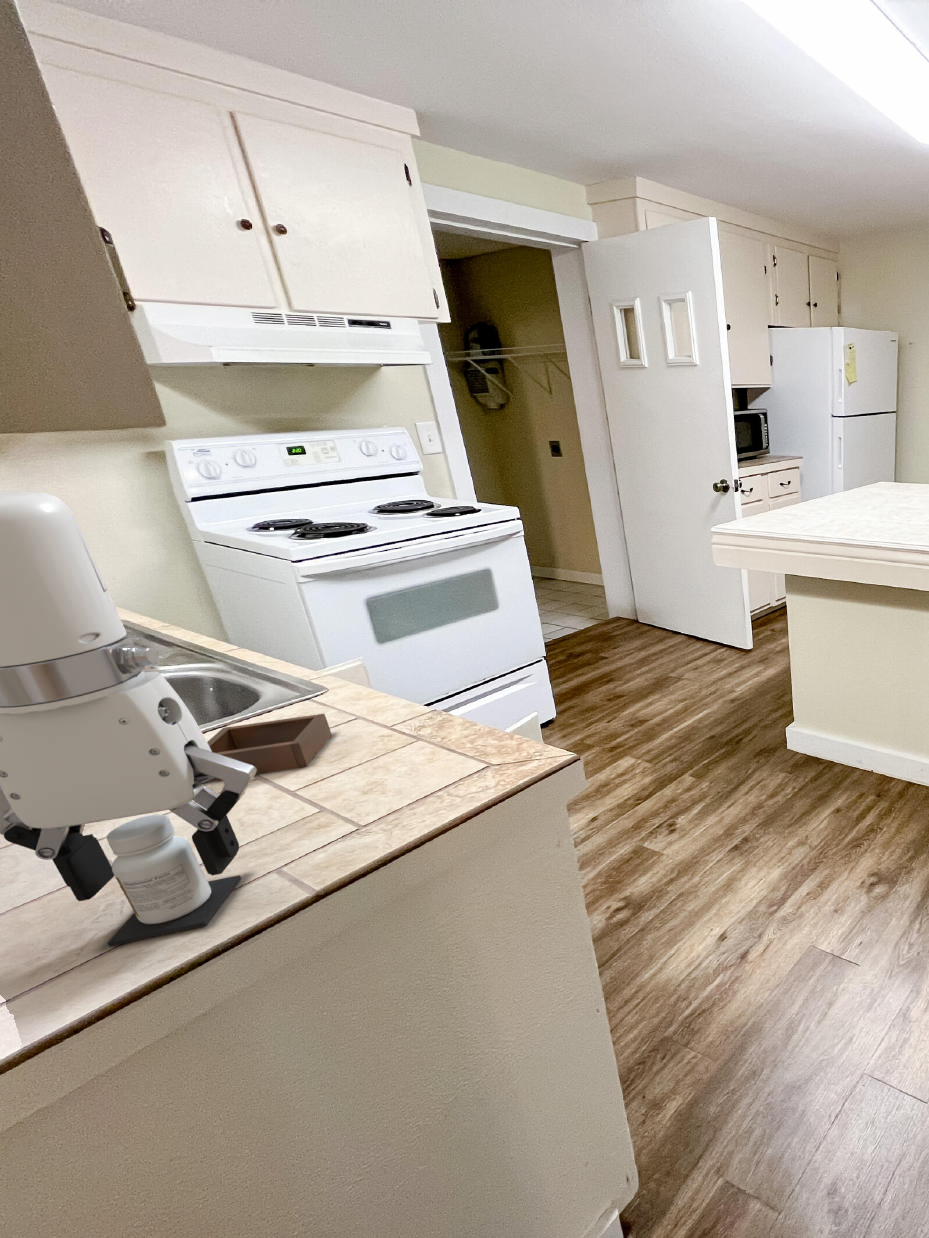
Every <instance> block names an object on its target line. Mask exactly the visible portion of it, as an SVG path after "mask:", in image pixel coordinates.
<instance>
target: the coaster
mask: <svg viewBox="0 0 929 1238" xmlns="http://www.w3.org/2000/svg"><path fill="white" fill-rule="evenodd" d="M207 881H208V883H209V886H210V888H211V894H210V896H209V898H208V899H207V900H206V901H205V902H204V903H203V904H202V905H201V906H200V907H198V908H197V909H195V910H194V911H192V912H190V913H188V914H186V915H184V916H181V917H179V918H176V919H173V920H170V921H167V922H163V923H158V924H145V923H142V922H140V921H139V920H138V918H137V916H136V915H135V913H134V912H133V913H132V915H131V916H130V917H129V918H128V919H127V920H126V921H125V922H124V923H123V924H122V926H121V927H120V928H119V929H118V930H117V931H116V932H115V933H114V934H113V936H112V937H110V939H109V940H108V941H107V943H106V944H107V945H108V947H115V946H119V945H123V944H127V943H133V942H137V941H142V940H146V939H151V938H156V937H160V936H165V935H170V934H171V935H172V934H175V933H180V932H185V931H189V930H194V929H199V928H202V927H206V926H208V924H209V923H210V921H211V920H212V919H213V918H214V916H215V915H216V913H218V911H219V910H220V908H221V907H222V905H224V904H225V902H226V900H227V899H228V898H229V896H230V895H231V894H232V892H233V891H234V889H235V888H236V887H237V886H238V884H239V883H240V881H242V876H241V875H239V874H238V875H233V876H229V877H228V876H227V877H223V878H219V879H213V880H207Z"/></svg>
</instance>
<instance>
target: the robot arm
mask: <svg viewBox="0 0 929 1238" xmlns="http://www.w3.org/2000/svg"><path fill="white" fill-rule="evenodd" d="M159 660H160V654H159V652H158V650H157V649H156V648H155V647H153V646H148V647H146V646H145V647H141V646H136V644H135V642H134V640H133V637H132V636H129V635H128V634H127V631H126V628H125V626H124V623H123V622H122V619H121V617H120V615H119V612H118V609H117V608H116V606H115V603H114V601H113V598H112V596H111V595H110V593H109V590H108V588H107V585H106V583H105V581H104V579H103V577H102V574H101V572H100V570H99V567H98V566H97V563H96V561H95V558H94V556H93V554H92V552H91V550H90V547H89V545H88V543H87V541H86V538H85V536H84V534H83V532H82V529H81V527H80V525H79V522H78V520H77V518H76V517H75V514H74V513H73V511H72V510H71V508H70V507H69V505H68V504H66V503H65V502H64V500H62V499H60V498H59V497H57V496H56V495H53V494H50V493H48V492H40V491H35V490H34V491H32V490H2V491H1V490H0V835H2V836H3V838H4V840H6V841H7V842H8V843H12V844H14V845H17V846H20V847H23V848H26V849H29V850H32V851H34V854H35V856H36V857H37V858H39V859H41V860H44V861H50V860H52V862H53V865H54V866H55V867H56V869H57V871H58V873H59V874H60V876H61V878H62V880H63V881H64V883H65V885H66V886H67V887H68V888H70V890H71V892H72V893H73V896H74V898H75V899H76V900H77V902H84V901H88V900H91V899H92V898H94V897H95V896H96V895H97V894H98V893H99V892H100V891H101V890H102V889H103V888H104V887H105V886H106V885H107V884H108V883H109V882H110V881H112V879H113V878H115V876H114V873H113V871H112V864H111V863H110V861H109V858H107V855H106V853H105V851H104V849H103V848H102V845H101V844H100V842H99V840H98V838H97V837H95V836H94V834H93V833H91V834H85V835H84V833H83V832H84V829H85V826H86V825H88V824H93V823H100V822H106V821H113V820H117V819H118V820H119V819H124V818H129V817H136V816H141V815H147V814H153V813H159V812H165V811H170V812H171V813H173V814H174V815H176V816H178V818H181V819H182V820H183V821H185V822H187V823H188V824H190V825H191V826H192V827H194V828H196V831H195V832H194V833H192V835H191V840H192V843H193V844H194V847H195V849H196V851H197V854H198V855H199V857H200V860H201V862H202V864H203V866H204V869H205V871H206V873H207V874H208V875H210V876H217V875H218V876H219V875H221V874H223V873H224V871H225V870H226V869H227V867H229V865H230V864H231V863H232V861H233V860H234V859H235V857H236V856H237V855H238V852H239V850H240V843H239V840H238V838H237V836H236V834H235V831H234V829H233V827H232V824H231V822H230V819H229V817H228V814H229V813H230V812H231V810H232V809H233V808H234V807H235V805H236V804H237V803H238V802H239V800H240V799H241V798H242V797H243V796H244V794H245V793H246V790H247V789H248V787H249V786H250V784H251V782H252V780H253V779H254V777H255V775H257V774H256V772H257V769H256V767H255V766H253V765H250V764H247V763H244V762H241V761H238V760H235V759H232V758H229V757H226V756H223V755H220V754H217V753H214V752H212V751H211V749H210V747H209V745H208V743H207V742H208V740H207V739H206V737H205V735H204V733H203V731H202V730H201V728H200V727H199V725H198V723H197V721H196V720H195V718H194V716H193V715H192V713H191V711H190V710H189V708H188V707H187V705H186V704H185V702H184V701H183V700H182V698H181V697H180V696H179V694H178V693H177V691H176V690H175V689H174V688H173V686H172V685H171V684H170V683H169V682H168V680H167V679H166V678H165V677H164V676H163V675H162V673H160V672H159V671H144V670H145V669H146V667H148V666H156V665H157V664H158V663H159ZM213 778H219V779H221V780H220V781H222V782H223V783H224V785H223V787H222V790H221V792H220V793H217V792H216V791H214V790H213V789H212V788H210V787H209V786H207V785H206V784H205V782H206V783H209V782H208V781H210V780H212V779H213Z"/></svg>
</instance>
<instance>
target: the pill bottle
mask: <svg viewBox="0 0 929 1238" xmlns="http://www.w3.org/2000/svg"><path fill="white" fill-rule="evenodd" d="M175 834H176V831H175V827H174V826H173V823H172V821H171V819H170V818H169V816H167V815H166V814H152V815H151V814H150V815H146V816H142V817H138V818H135V819H132V820H130V821H127V822H125V823H122V824H121V825H118V826H117V827H115V828H113V829H112V830H111V831H110V832H109V833H108V834H107V835H106V841H107V842H108V845H109V847H110V849H111V851H112V853H113V855H114V856H117V857H115V859H114V860H113V862H112V864H111V867H112V871H113V873H114V878H115V880H116V882H117V884H118V885H119V887H120V889H121V891H122V892H123V894H124V896H125V898H126V900H127V902H128V903H129V905H130V907H131V909H132V911H133V914H134V913H135V915H136V916H137V918H138V920H139V921H140V922H142V923H145V924H158V923H163V922H167V921H170V920H173V919H176V918H179V917H181V916H184V915H186V914H188V913H190V912H192V911H194V910H195V909H197V908H198V907H200V906H201V905H202V904H203V903H204V902H205V901H206V900H207V899H208V898H209V896H210V894H211V888H210V886H209V883H208V881H209V880H208V879H207V877H206V875H205V873H204V871H203V869H202V867H201V865H200V862H199V860H198V858H197V855H196V853H195V851H194V849H193V847H192V845H191V843H190V841H189V840H188V839H186V838H185V837H183V836H179V835H175Z"/></svg>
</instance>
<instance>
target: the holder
mask: <svg viewBox="0 0 929 1238" xmlns="http://www.w3.org/2000/svg"><path fill="white" fill-rule="evenodd" d="M332 736H333V734H332V732H331V728H330V725H329V722H328V719H327V717H326V714H325V713H318V714H311V715H310V714H309V715H304V716H298V717H290V718H284V719H283V718H282V719H277V720H276V719H275V720H268V721H262V722H254V723H248V724H247V723H246V724H242V725H233V726H226V727H222V728H221V729H220V730H219V731H218V732H216V734H214V736H212V737H211V738H210V739H209V740H207V743H208V745H209V747H210V749H211V751H212V752H214V753H217V754H220V755H223V756H226V757H229V758H232V759H235V760H238V761H241V762H244V763H247V764H250V765H253V766H255V767H256V769H257V772H256V774H255V775H262V774H267V773H273V772H279V771H285V770H286V771H287V770H292V769H299V768H304V767H308V766H309V765H310V763H311V762H312V761H313V760H314V758H315V757H316V756H317V754H318V753H320V751H321V749H322V748H323V747H324V746H325V744H326V743H327V742H328V741H329V740H330V738H331V737H332ZM217 781H218V782H219V781H222V780H221V779H219V778H213V779H212V780H210V781H208V782H205V783H210V782H217ZM205 783H204V784H205Z"/></svg>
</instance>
